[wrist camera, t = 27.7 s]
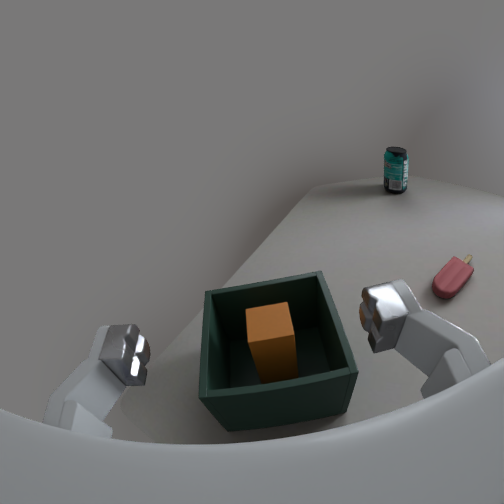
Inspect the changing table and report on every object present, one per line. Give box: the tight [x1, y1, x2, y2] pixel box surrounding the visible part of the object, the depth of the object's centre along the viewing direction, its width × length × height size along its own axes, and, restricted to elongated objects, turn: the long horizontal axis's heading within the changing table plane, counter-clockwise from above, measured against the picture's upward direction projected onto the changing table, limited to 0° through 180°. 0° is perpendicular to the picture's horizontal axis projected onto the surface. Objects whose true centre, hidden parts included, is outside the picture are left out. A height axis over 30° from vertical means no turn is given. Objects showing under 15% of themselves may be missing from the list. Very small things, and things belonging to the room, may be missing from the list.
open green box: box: [199, 271, 359, 431], centre depth 31 cm, size 15×15×11 cm
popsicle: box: [432, 254, 474, 298], centre depth 40 cm, size 5×2×15 cm
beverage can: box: [384, 147, 408, 193], centre depth 67 cm, size 7×7×12 cm
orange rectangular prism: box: [246, 302, 299, 384], centre depth 31 cm, size 4×4×11 cm
